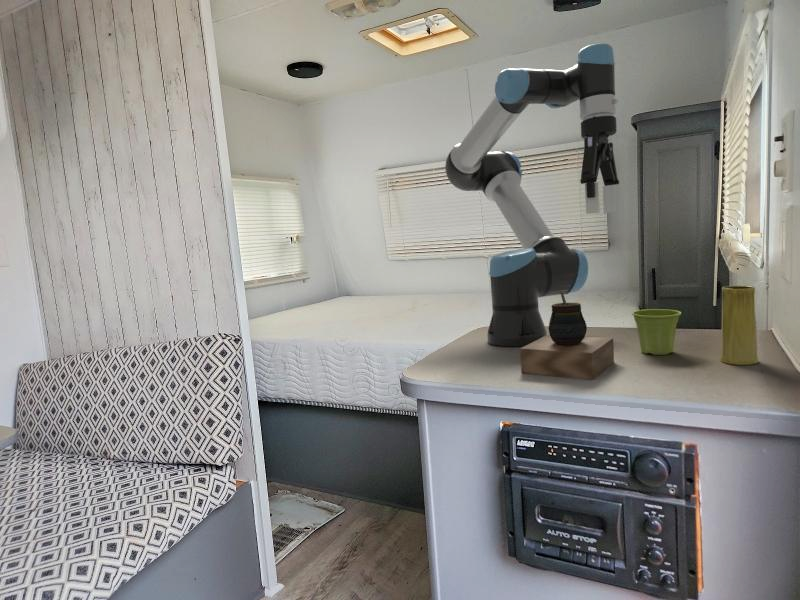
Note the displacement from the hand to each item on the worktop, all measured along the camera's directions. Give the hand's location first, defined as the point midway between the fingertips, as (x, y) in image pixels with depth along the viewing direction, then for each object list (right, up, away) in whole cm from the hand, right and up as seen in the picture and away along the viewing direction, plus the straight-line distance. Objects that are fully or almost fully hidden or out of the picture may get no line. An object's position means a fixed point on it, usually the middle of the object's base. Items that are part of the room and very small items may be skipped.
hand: (601, 213), depth 120 cm
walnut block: (-13, -34, -15) cm, 39 cm away
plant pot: (+9, -31, -9) cm, 34 cm away
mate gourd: (-13, -29, -15) cm, 35 cm away
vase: (+18, -32, -21) cm, 42 cm away
